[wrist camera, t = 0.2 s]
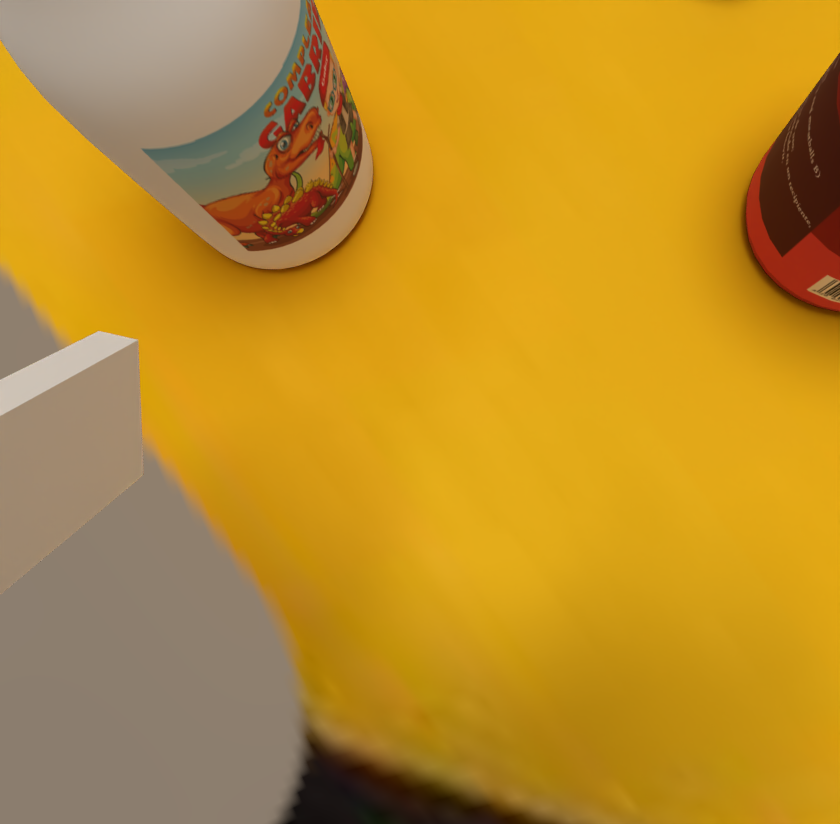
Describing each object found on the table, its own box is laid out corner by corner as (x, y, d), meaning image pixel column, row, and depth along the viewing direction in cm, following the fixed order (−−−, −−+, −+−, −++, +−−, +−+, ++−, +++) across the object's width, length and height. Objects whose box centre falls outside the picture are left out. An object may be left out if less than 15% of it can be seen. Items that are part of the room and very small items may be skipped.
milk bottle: (202, 290, 30) (-371, -101, 11) (181, 112, 31) (-377, -547, 12) (389, 255, 30) (151, -237, 10) (361, 74, 31) (95, -700, 11)
